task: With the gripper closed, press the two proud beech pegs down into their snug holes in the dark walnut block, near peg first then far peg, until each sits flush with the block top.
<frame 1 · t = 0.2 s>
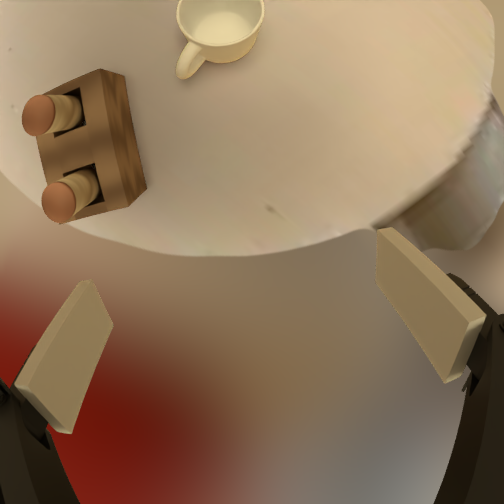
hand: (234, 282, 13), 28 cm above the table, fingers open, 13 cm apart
mug: (213, 46, 30), on the table
socket block: (101, 141, 34), on the table
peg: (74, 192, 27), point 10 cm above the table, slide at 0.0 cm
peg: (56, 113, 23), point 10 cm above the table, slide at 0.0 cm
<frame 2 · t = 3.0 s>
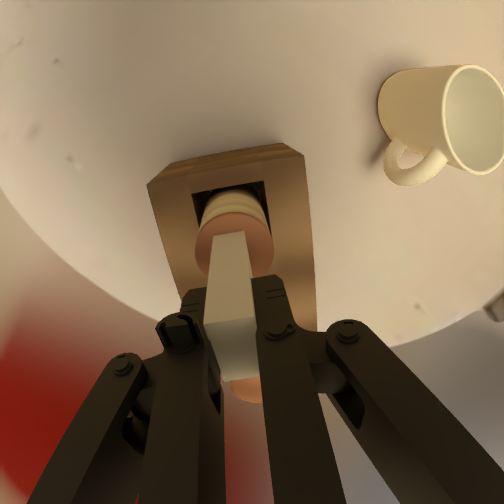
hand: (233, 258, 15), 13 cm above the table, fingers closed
mug: (399, 123, 24), on the table
socket block: (241, 235, 28), on the table
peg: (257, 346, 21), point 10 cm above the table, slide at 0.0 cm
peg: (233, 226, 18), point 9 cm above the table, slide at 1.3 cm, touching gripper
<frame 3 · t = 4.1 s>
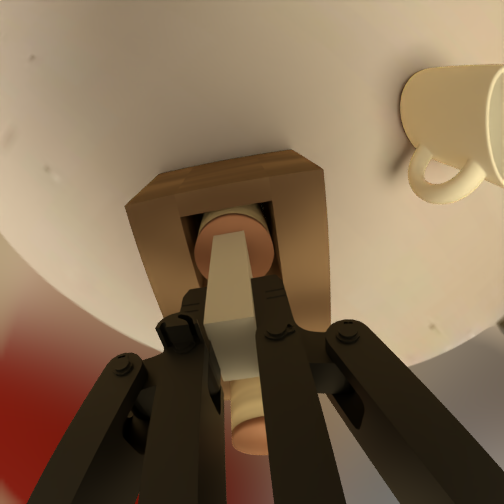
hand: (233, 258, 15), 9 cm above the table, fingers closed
mug: (422, 128, 21), on the table
socket block: (242, 256, 25), on the table
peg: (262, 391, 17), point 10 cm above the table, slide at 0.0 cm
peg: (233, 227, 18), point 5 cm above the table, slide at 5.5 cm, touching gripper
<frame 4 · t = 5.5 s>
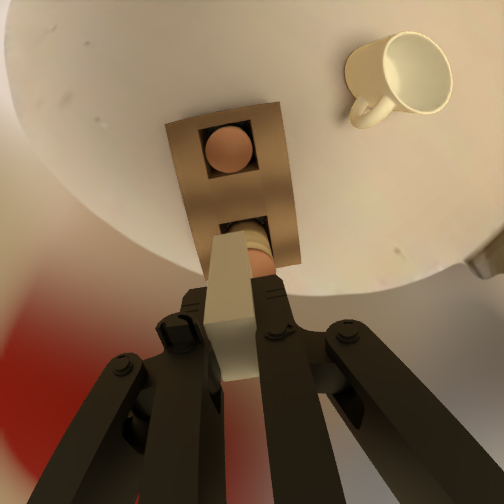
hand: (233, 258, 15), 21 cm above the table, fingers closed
mug: (365, 87, 30), on the table
socket block: (237, 177, 34), on the table
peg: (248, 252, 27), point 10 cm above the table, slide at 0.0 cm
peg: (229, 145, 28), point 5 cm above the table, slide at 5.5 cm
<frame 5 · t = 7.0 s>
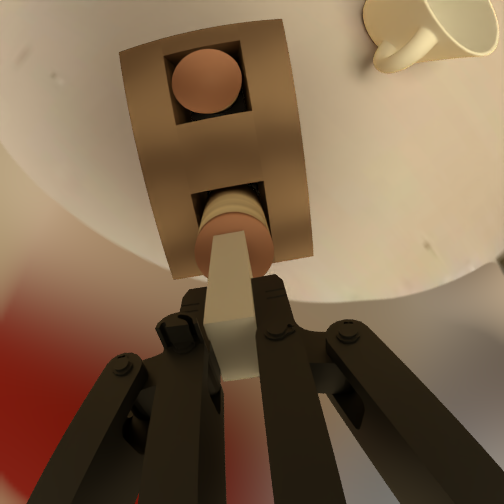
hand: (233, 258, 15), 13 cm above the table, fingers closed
mug: (388, 37, 20), on the table
socket block: (223, 141, 24), on the table
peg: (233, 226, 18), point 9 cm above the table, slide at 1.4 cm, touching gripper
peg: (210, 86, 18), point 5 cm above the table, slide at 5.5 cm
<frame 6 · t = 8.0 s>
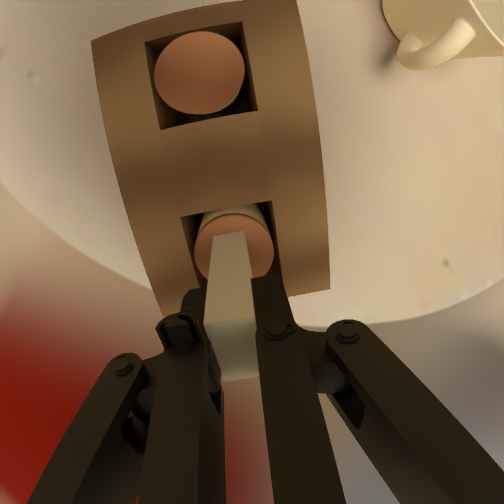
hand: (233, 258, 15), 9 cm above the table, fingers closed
mug: (409, 30, 17), on the table
socket block: (221, 146, 21), on the table
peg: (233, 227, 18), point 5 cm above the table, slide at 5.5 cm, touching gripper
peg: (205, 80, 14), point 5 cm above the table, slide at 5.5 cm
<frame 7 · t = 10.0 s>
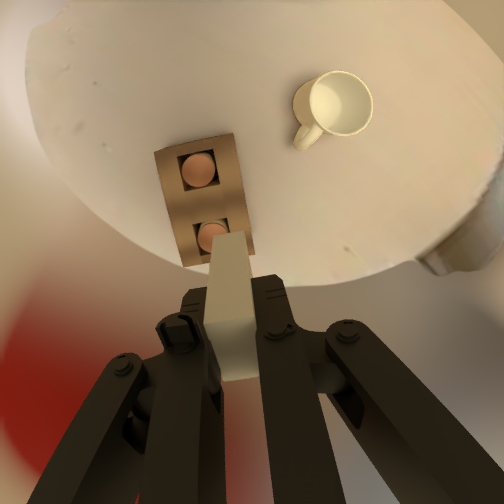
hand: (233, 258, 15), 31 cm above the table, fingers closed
mug: (311, 115, 41), on the table
socket block: (209, 190, 44), on the table
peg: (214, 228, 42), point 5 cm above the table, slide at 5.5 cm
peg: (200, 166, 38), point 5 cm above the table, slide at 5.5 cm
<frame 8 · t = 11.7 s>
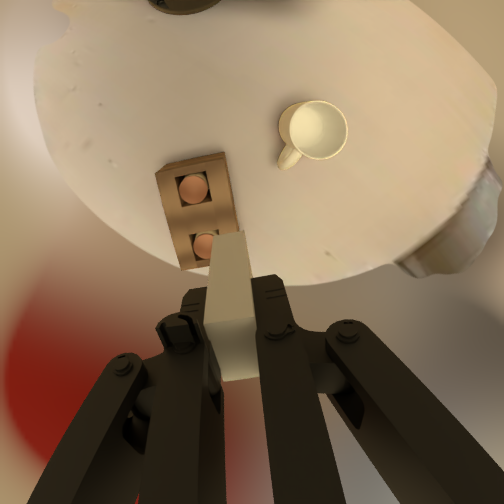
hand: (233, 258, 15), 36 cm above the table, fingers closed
mug: (295, 135, 47), on the table
socket block: (204, 202, 51), on the table
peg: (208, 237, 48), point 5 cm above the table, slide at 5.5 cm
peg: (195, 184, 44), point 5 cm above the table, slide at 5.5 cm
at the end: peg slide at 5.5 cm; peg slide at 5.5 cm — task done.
